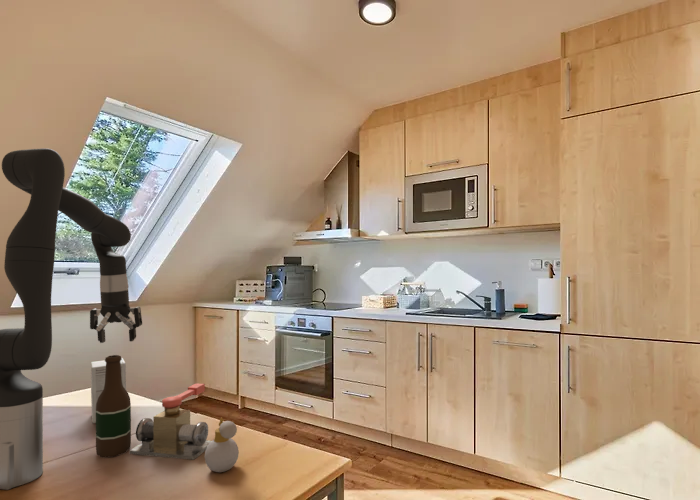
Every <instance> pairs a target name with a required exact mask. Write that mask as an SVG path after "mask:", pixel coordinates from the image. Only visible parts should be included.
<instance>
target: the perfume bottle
mask: <svg viewBox="0 0 700 500" xmlns="http://www.w3.org/2000/svg"><path fill="white" fill-rule="evenodd" d="M237 430H238V427H237V425H236V424H235V423H234V422H233V421H231V420H225V421H224V419H223V417H220V419H219V422H218V428H216V429H214V438H213V440H211V441H212V442H210V444H209V445H208V446H207V448H206V451H204V461H205V462H204V463H205V464H206V466H207V468H208V469H210V470H211V471H212V472H216V473H222V472H223V473H225V472H226V471H230V469H232V468H233V467H234V466H235V464H236V463H237V461H238V458H239V453H240V452H239V446H238V444H237V442H236V441H235V440H234V439H233V437H235V436H236V434H237Z"/></svg>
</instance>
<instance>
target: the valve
mask: <svg viewBox="0 0 700 500" xmlns="http://www.w3.org/2000/svg"><path fill="white" fill-rule="evenodd" d="M180 406H181V405H179V406H176V407H170V408H166V407H163V408H164V410H163V411H162V412H160V413H158V414H156V415H154V416H153V419H152V418H150V417H145V418H142V419H141V420H140V421H139V422H138V424H137V426H136V430H135V438H136V440H137V441H139V442H141V443H139V444H138V445H136V446H134V447H133V448H130V449H128V451H129V454H130V455H138V456H140V455H141V456H147V457H148V456H150V457H159V458H160V457H162V458H172V459H173V458H175V459H184V460H195V459H197V458H199V456H201V455H202V454H203V453H205V451H206V448H207V446H208V445H209V444H210V442H212V441H213V440H207V438H208V435H209V424H208V423H207V422H206V421H199V422H198V423H196V424H191V409H182V408H180Z"/></svg>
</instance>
